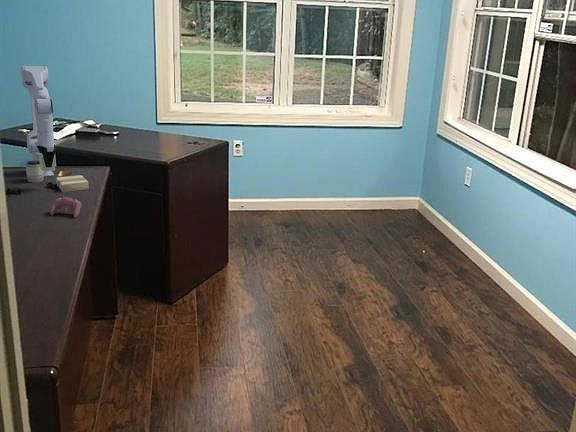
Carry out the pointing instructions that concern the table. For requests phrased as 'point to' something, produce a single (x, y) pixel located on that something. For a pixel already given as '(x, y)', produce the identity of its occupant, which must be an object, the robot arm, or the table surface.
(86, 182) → the birch block
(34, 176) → the camera lens
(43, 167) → the sage block
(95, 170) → the table surface
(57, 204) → the video game controller
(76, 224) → the table surface
